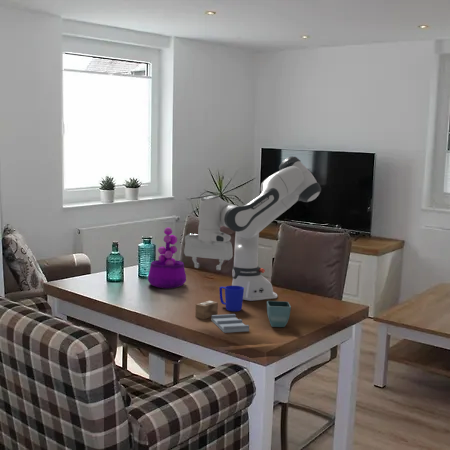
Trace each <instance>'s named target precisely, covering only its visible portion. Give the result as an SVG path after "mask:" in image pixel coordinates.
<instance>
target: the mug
mask: <svg viewBox="0 0 450 450" xmlns="http://www.w3.org/2000/svg"><path fill="white" fill-rule="evenodd" d="M223 289H224V295H225V296H224V298H225V302H224V299H223ZM243 293H244V288H243V287H241V286H232V285H226V286H220V287H219V299H220V303H221V304H222V305H224V306H225V309H226V310H227V311H229V312H240V311H241V310H242V308H243V301H244V299H243Z"/></svg>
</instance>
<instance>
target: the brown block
mask: <svg viewBox="0 0 450 450" xmlns="http://www.w3.org/2000/svg"><path fill="white" fill-rule="evenodd" d="M218 302H219V301H213V300H207V301H203V302H199V303H196V304H195V318H197V319H201V320H205V319H209V318H211V317H212V315H219V314H218V311H219V310H218V309H219V308H218V307H219V303H218Z"/></svg>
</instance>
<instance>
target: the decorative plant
mask: <svg viewBox="0 0 450 450" xmlns="http://www.w3.org/2000/svg"><path fill="white" fill-rule="evenodd" d="M163 233H164V234H165V236H164V237H163V241H164V242H165V246H159V247H158V249H157V252H158V253H159V256H158V258H157V259H158V260H153V261H151V262H150V266H149V267H150V268H149V271H148V275H147V281H148V282H149V284H150V285H151V286H153V287H155V288H159V289H164V290H165V289H167V290H169V288H170V289H175V288H178V287H181V286H183V285H184V284H185V283H186V282H187V274H186V271H185V264H184V262H183V261H180V260H176V259H175V258H174V257H173V255H174V254H176V253H177V251H178V248H177V247H176V246H175V244H176V243H177V242H178V237H177V236H176V235H175V234H173V230H172V228H171V227H165V228H164V230H163Z"/></svg>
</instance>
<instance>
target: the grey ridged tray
mask: <svg viewBox="0 0 450 450" xmlns="http://www.w3.org/2000/svg"><path fill="white" fill-rule="evenodd" d="M236 316H237V315H236V314H235V313H227V314H217V315H212V317H210V319H211V322H212V323H213V324H215V325H216V327H218V329H220V331H221V332H223V333H224V334H226V333H241V332H242V333H243V332H250V325H249V324H245V323H244V322H243V319H241V318H239V319H238V317H236Z"/></svg>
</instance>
